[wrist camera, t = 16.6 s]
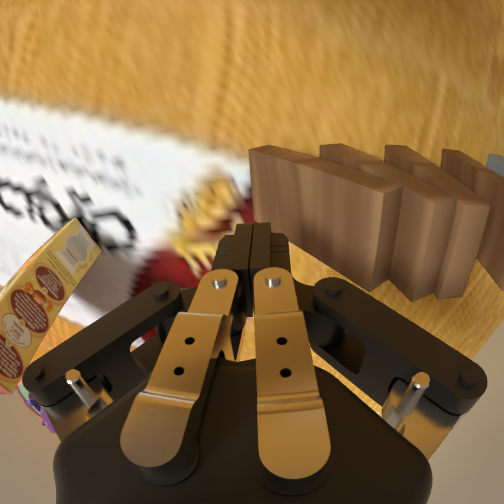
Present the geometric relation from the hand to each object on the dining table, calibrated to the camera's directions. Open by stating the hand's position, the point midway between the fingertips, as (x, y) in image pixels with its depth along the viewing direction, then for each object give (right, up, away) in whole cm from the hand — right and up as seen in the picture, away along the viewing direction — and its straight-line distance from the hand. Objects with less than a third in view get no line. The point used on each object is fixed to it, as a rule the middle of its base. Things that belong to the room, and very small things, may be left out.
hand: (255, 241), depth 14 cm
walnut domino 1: (+1, +4, +6) cm, 8 cm away
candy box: (-18, -1, +11) cm, 21 cm away
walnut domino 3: (+10, +5, +6) cm, 12 cm away
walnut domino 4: (+15, +5, +5) cm, 16 cm away
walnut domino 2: (+5, +4, +6) cm, 9 cm away
